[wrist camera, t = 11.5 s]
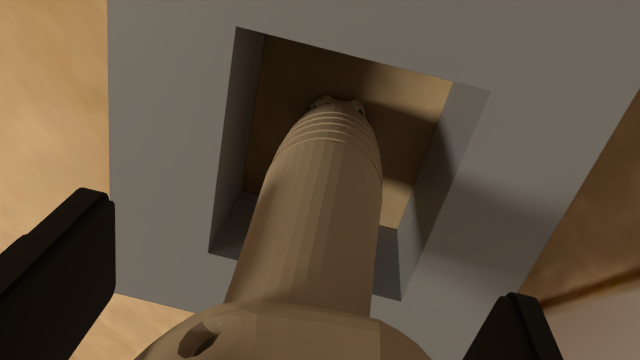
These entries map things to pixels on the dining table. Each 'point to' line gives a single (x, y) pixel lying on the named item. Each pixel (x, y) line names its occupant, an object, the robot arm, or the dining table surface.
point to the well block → (439, 163)
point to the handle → (304, 257)
